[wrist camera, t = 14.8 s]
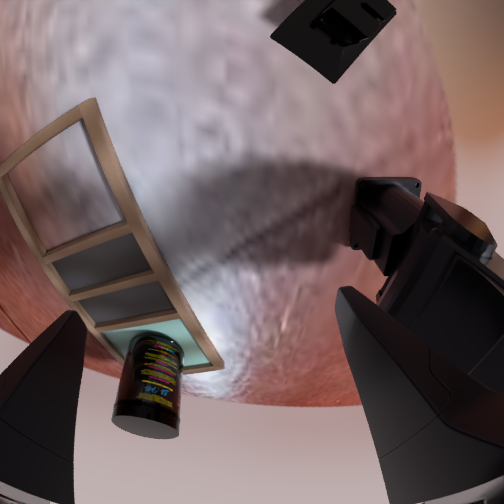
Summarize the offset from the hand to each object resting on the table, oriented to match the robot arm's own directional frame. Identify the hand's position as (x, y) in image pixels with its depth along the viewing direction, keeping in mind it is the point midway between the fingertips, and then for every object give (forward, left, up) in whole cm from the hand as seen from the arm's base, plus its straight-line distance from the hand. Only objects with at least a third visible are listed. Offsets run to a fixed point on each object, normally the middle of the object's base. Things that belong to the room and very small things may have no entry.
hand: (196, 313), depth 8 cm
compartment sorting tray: (+12, +9, -13) cm, 19 cm away
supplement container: (+10, +18, -13) cm, 24 cm away
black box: (-10, -12, -14) cm, 21 cm away
